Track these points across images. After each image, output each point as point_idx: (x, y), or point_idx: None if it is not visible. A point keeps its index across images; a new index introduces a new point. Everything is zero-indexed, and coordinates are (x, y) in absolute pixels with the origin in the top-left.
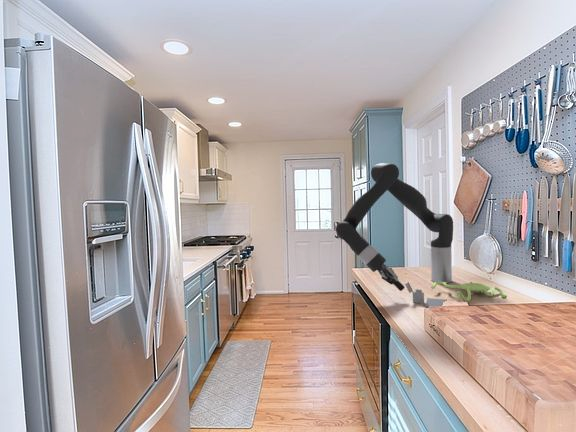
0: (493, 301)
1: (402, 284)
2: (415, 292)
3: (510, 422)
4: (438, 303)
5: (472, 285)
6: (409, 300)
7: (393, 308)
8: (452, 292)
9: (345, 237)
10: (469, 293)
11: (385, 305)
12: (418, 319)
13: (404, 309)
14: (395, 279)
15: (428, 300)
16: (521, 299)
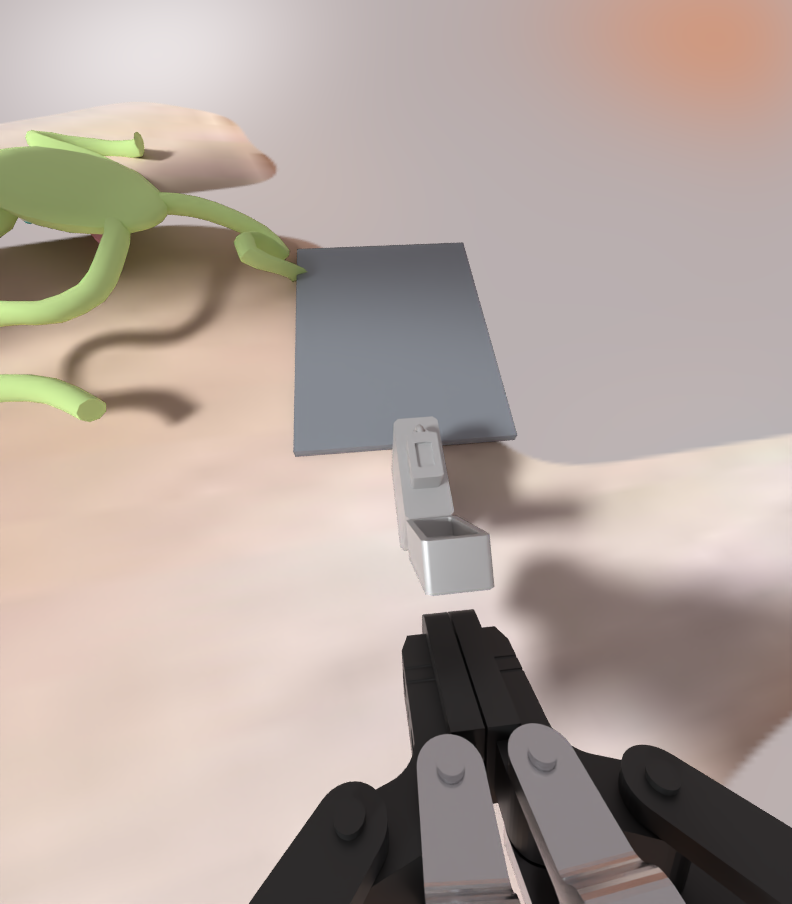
0: (230, 183)
1: (431, 644)
2: (448, 487)
3: None
4: (411, 371)
5: (106, 169)
6: (391, 586)
7: (713, 673)
8: (56, 331)
9: None
10: (233, 210)
11: None
12: (786, 442)
13: (666, 571)
14: (590, 778)
15: (365, 435)
16: (166, 118)
